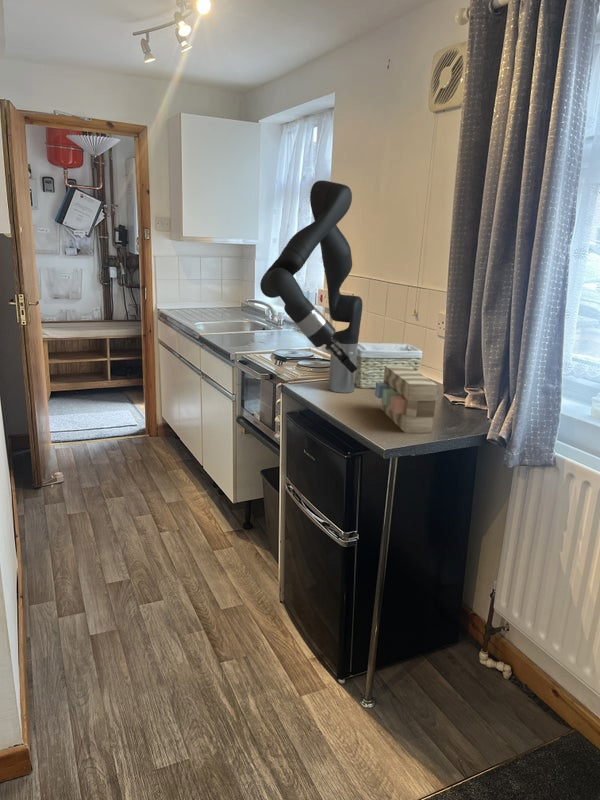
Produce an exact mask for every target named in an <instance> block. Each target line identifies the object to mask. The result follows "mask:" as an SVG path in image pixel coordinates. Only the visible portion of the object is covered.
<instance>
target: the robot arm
mask: <svg viewBox="0 0 600 800" xmlns="http://www.w3.org/2000/svg"><path fill="white" fill-rule="evenodd" d="M310 189H311V190H310V192H309V193H310V194H309V195H310V196H309V203H310V209H311V212H312V216H313V218H314V219H313V221H312V223H310V224H308V225H307V226H305V227H303V228H302V229H300V230H299V231H297V232H296V233H295V234H294V235H292V237H290V239H289V241H288V242H287V243H286V245H285V247H284V248H283V250H282V251H281V253H280V255H279V256H278V257H277V258H276V259H275V261H274V262H273V263H272V265H270V267H269V268H268V269H267V270H266V271H265V273H264V274H263V276H262V277H261V280H260V284H259V285H260V286H259V287H260V288H259V289H260V291H261V293H262V294H263V296H265V297H266V298H270V299H276V298H279V297H280V299H281V300H282V301H283V303H284V308H283V309H284V310H283V311H284V312H285V313H286V314H287V316H288V317H289V318H290V319H291V320H292V322H293V323H295V325H296V326H297V327H298V329H299V330H300V331H301V332H302V333H303V334H304V336H305V337H306V338H307V339H308V340H309V341H310V343H311V344H313V346H314V347H315V348H321V347H323V346H324V345H326V346H325V347H324V349H325V350H326V351H327V352H328V353H329V354H330V360H329V373H328V387H327V389H328V390H329V391H331V392H334V393H342V394H344V393H345V394H346V393H354V391H355V385H356V384H355V374H356V370H357V367H356V362H357V350H358V342H359V338H360V337H359V336H360V329H361V322H362V321H361V320H362V315H363V300H362V298H361V296H357V295H348V294H341V292H340V288H341V287H342V285H343V283H344V282H345V281H346V279H347V277H348V276H349V275H350V273H351V271H352V268H353V258H352V257H353V256H352V249H351V246H350V244H349V242H348V240H347V238H346V237H345V235H344V234H343V232H342V231H341V230H340V229H339V227H338V224H339V222H340V221H342V219H343V218H344V217H345V216H346V215H347V213H348V211H349V210H350V208H351V206H352V199H353V193H352V189H351V188H350V187H349V186H348V185H346V184H343V183H339V182H333V181H328V180H317V181H316V182H314V183H313V185H312V186H311V188H310ZM319 244H320V249H321V250H320V251H321V260H322V265H323V269H324V276H325V280H326V281H325V282H326V287H327V299H328V308H329V309H328V311H329V317H330V318H331V320H332V321H335V322H338V323H339V322H340V323H349V324H348V327H347V328H345V329H342V330H338V331H336V329H335V327H334V326H333V325H332V324H331V322H329V320H328V319H327V318H326V317H325V316H324V315H323V314H322V312H321V311H320V310H318V309H317V308H316V307H315V306H314V305H313V303H312V302H311V300H309V299H308V298H307V297H306V296H305V295H304V292H303V290H302V288H301V286H300V285H299V283H298V281H297V279H296V278H295V276H294V275H295V274H297V273H298V272H299V271H301V269H302V268H303V266H305V264H306V262H307V261H308V259H309V258H310V256H311V255H312V253H313V252H314V250H315V249H316V248H317V246H318V245H319Z"/></svg>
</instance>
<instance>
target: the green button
mask: <svg viewBox="0 0 600 800" xmlns="http://www.w3.org/2000/svg"><path fill="white" fill-rule="evenodd" d="M397 393H398V392H396V391H395V390H394V389H383V397H382V398H381V402H383V403H384V404H385V405H387V406H390V403H391V396H397Z"/></svg>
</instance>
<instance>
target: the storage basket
mask: <svg viewBox="0 0 600 800" xmlns="http://www.w3.org/2000/svg"><path fill="white" fill-rule="evenodd" d="M422 358H423V351H422V350H421V349H419V348H418V347H415V346H414V345H412V344H409V343H387V342H386V343H382V342H378V343H377V342H359V341H358V350H357V362H356V367H357V370H356V374H355V385H356V386H357V387H358V388H360V389H365V390H366V389H368V390H369V389H376V383H383V382H384V371H385V366H410V367H411V368H413V369H414V370H416V371H417V372H419V371H420V367H421V363H422V362H421V361H422ZM419 373H420V372H419Z"/></svg>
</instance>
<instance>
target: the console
mask: <svg viewBox="0 0 600 800" xmlns="http://www.w3.org/2000/svg"><path fill="white" fill-rule="evenodd" d="M383 383H387V384H388V385H389V389H394V390H395V391H396V392H398V393H397V396H402V397H404V398H405V399H406V407H405V414H404V413H393V412H392V411H391V410H390V406H387V405H385V404H384V403H383V402H382V401H380V402H381V403H380V409H381V410H382V411H383V412H384V413H385V414H386V416H388V418H389V419H390V420H392V421H393V423H395V424H396V426H397V427H399V429H400V430H401V431H403V433H406V434H407V433H409V434H410V433H411V434H412V433H415V434H418V433H419V434H420V433H421V434H422V433H426V434H432V432H433V425H434V424H433V423H434V417H435V409H436V394H437V391H438V384H436V382H434V381H432V380H431V379H429V378H428V377H426V376H425V375H424V374H422V373H420V372H417V371H416V370H414V369H413V368H411V367H410V366H385V371H384V382H383Z"/></svg>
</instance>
